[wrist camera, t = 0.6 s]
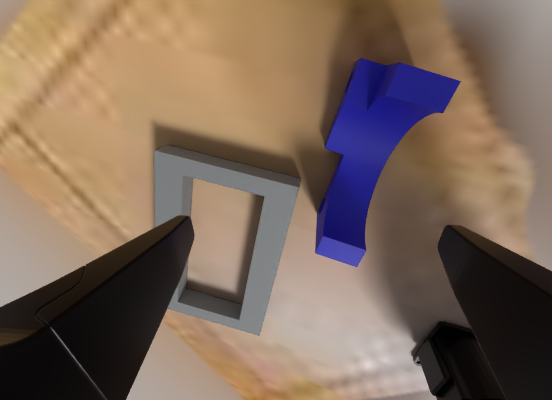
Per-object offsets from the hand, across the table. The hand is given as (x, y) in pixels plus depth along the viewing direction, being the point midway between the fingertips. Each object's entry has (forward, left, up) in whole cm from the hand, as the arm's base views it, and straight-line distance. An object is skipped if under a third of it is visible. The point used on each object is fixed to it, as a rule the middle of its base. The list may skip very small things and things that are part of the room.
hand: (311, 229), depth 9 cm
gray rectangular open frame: (+7, +12, -12) cm, 18 cm away
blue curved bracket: (-3, 0, -13) cm, 13 cm away
